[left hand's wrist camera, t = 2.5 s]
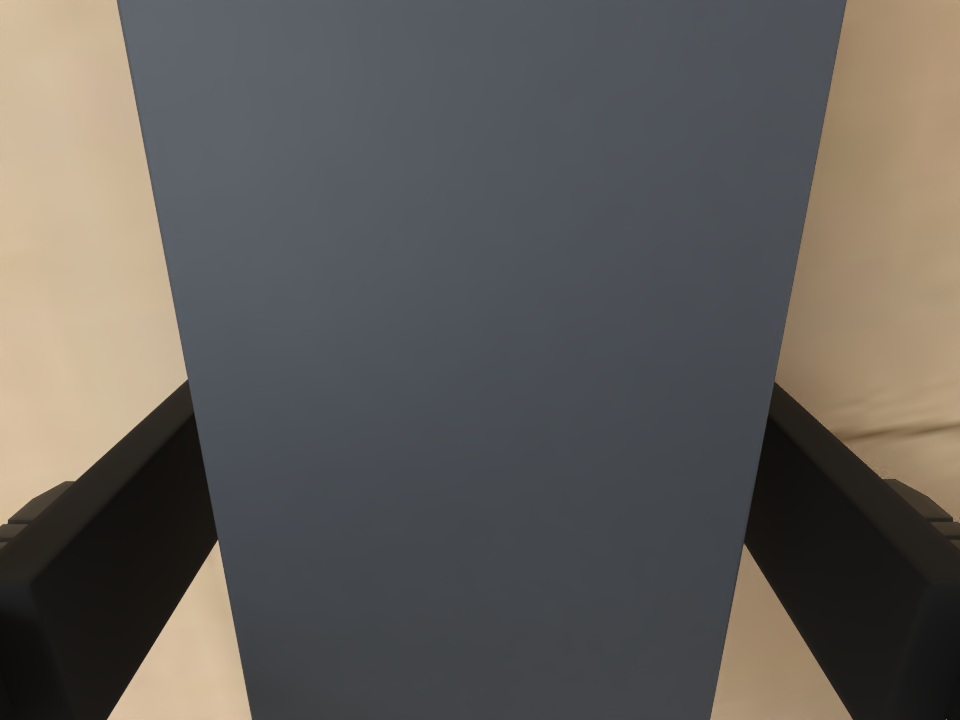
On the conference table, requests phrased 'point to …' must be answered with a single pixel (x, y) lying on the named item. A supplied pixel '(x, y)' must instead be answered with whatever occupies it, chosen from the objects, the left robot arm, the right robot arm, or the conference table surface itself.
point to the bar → (481, 332)
